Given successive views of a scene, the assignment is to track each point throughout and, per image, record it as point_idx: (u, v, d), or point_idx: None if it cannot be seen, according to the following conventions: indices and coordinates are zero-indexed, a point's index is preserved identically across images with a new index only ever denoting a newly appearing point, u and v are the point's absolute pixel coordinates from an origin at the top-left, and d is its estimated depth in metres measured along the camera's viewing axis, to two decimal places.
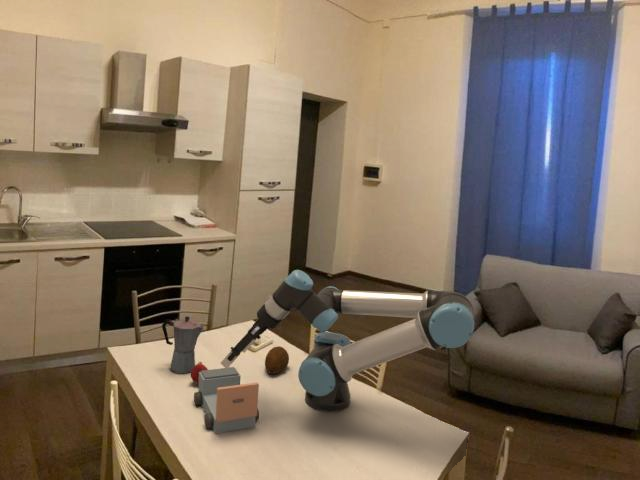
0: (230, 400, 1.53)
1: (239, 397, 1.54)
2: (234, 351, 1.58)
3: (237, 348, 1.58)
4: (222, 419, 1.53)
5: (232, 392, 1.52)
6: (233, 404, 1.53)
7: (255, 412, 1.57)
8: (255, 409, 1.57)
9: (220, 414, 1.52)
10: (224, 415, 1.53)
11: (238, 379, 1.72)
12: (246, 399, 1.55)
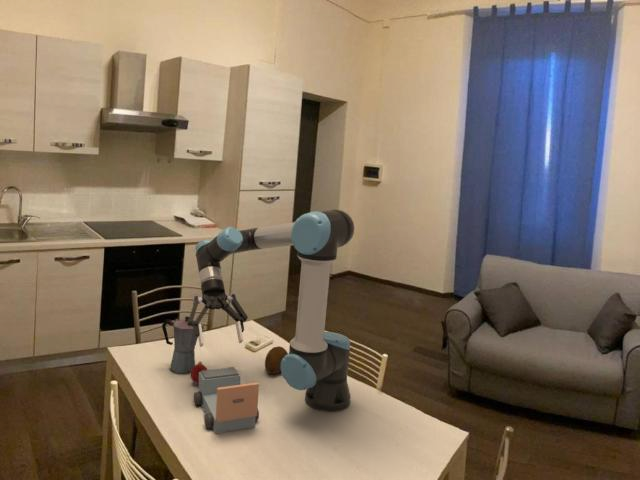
0: (230, 400, 1.53)
1: (239, 397, 1.54)
2: (188, 322, 1.69)
3: None
4: (222, 419, 1.53)
5: (232, 392, 1.52)
6: (233, 404, 1.53)
7: (255, 412, 1.57)
8: (255, 409, 1.57)
9: (220, 414, 1.52)
10: (224, 415, 1.53)
11: (238, 379, 1.72)
12: (246, 399, 1.55)
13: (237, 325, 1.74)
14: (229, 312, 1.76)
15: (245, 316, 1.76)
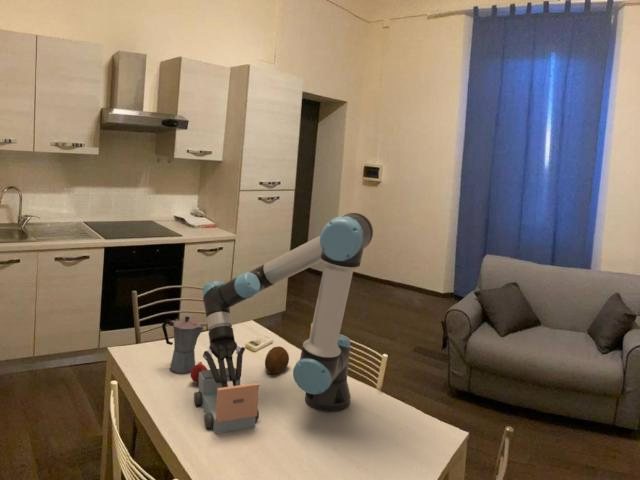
0: (231, 401, 1.53)
1: (239, 397, 1.54)
2: (216, 380, 1.58)
3: (214, 377, 1.58)
4: (222, 419, 1.53)
5: (232, 393, 1.52)
6: (233, 404, 1.53)
7: (255, 412, 1.57)
8: (255, 409, 1.57)
9: (220, 414, 1.52)
10: (224, 415, 1.53)
11: None
12: (246, 399, 1.55)
13: (229, 385, 1.58)
14: (228, 365, 1.61)
15: (239, 375, 1.60)
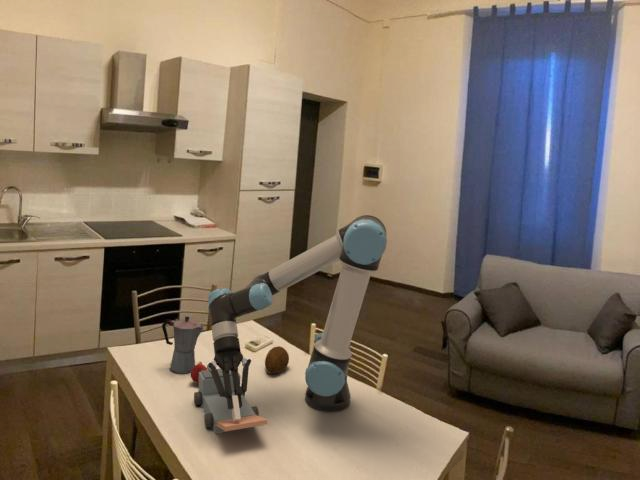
0: None
1: None
2: (220, 394, 1.50)
3: (218, 390, 1.50)
4: None
5: None
6: None
7: None
8: None
9: None
10: None
11: None
12: None
13: None
14: (233, 378, 1.53)
15: (244, 388, 1.52)
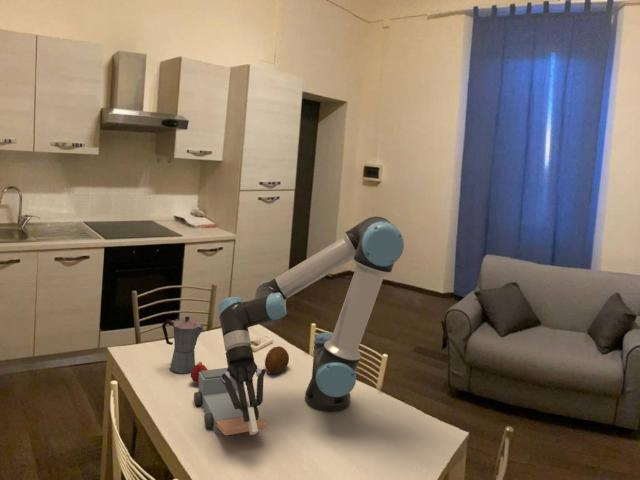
0: None
1: None
2: (235, 406, 1.44)
3: (233, 402, 1.44)
4: None
5: None
6: None
7: None
8: None
9: None
10: None
11: None
12: None
13: None
14: (248, 389, 1.47)
15: (260, 399, 1.46)
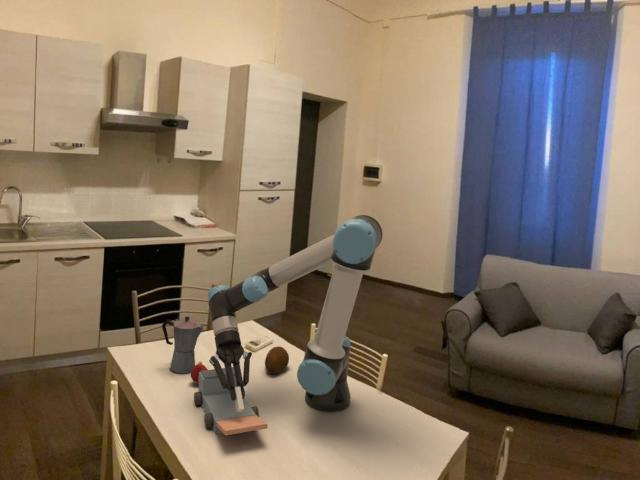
0: None
1: None
2: (223, 386, 1.54)
3: (221, 382, 1.55)
4: None
5: None
6: None
7: None
8: None
9: None
10: None
11: None
12: None
13: None
14: (235, 371, 1.58)
15: (246, 380, 1.56)
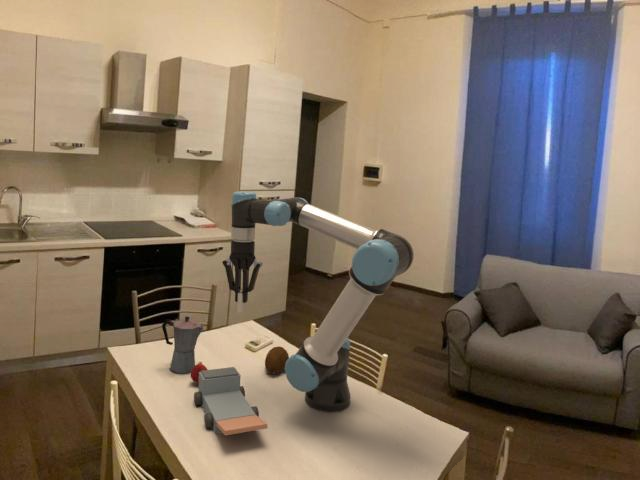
0: None
1: None
2: None
3: None
4: None
5: None
6: None
7: None
8: None
9: None
10: None
11: (238, 379, 1.72)
12: None
13: None
14: None
15: (249, 289, 1.71)
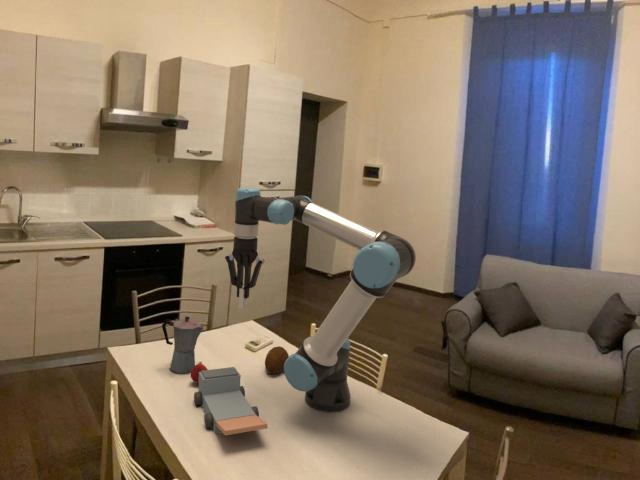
0: None
1: None
2: None
3: None
4: None
5: None
6: None
7: None
8: None
9: None
10: None
11: (238, 379, 1.72)
12: None
13: None
14: None
15: (250, 285, 1.72)
